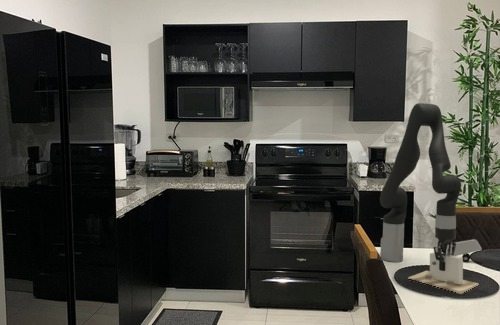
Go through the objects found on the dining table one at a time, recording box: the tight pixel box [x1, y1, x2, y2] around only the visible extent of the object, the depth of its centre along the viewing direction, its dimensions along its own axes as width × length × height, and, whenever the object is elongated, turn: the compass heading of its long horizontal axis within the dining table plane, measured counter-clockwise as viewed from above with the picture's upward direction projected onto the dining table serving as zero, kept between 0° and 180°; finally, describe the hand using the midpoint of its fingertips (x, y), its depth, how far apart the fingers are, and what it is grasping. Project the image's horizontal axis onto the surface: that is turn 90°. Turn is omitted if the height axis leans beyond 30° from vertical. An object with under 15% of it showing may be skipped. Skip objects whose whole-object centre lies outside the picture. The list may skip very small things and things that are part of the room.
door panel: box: [429, 251, 464, 284], centre depth 196 cm, size 12×4×10 cm, turn 41°
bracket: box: [454, 238, 483, 263], centre depth 229 cm, size 4×10×15 cm
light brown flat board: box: [407, 270, 480, 295], centre depth 198 cm, size 22×14×2 cm, turn 41°
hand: (444, 269), depth 197 cm, fingers closed on door panel, 3 cm apart
